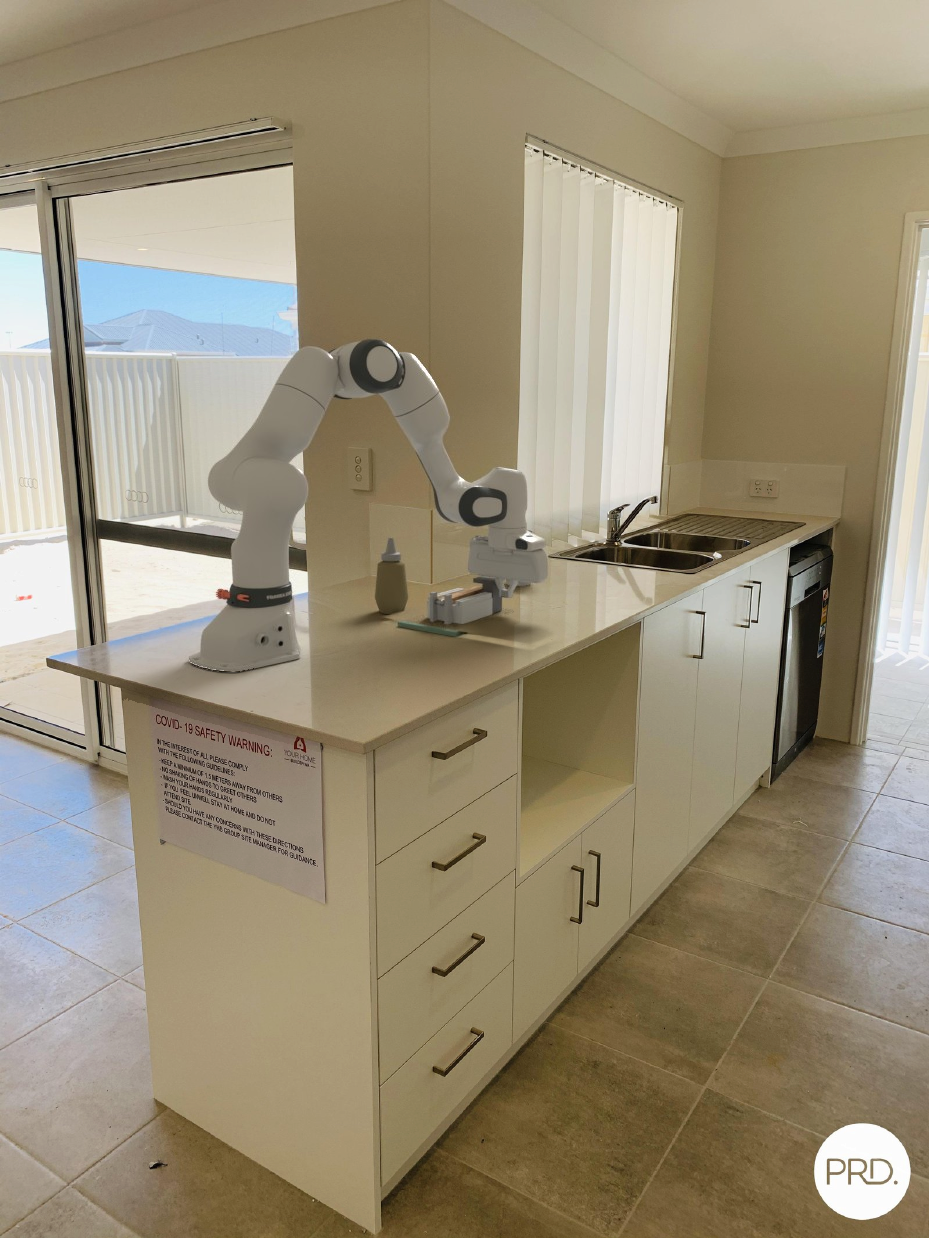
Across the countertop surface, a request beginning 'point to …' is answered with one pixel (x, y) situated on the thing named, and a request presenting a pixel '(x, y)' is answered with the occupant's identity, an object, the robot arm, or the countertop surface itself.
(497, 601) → the block
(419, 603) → the countertop surface
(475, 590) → the strap
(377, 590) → the squeeze bottle
